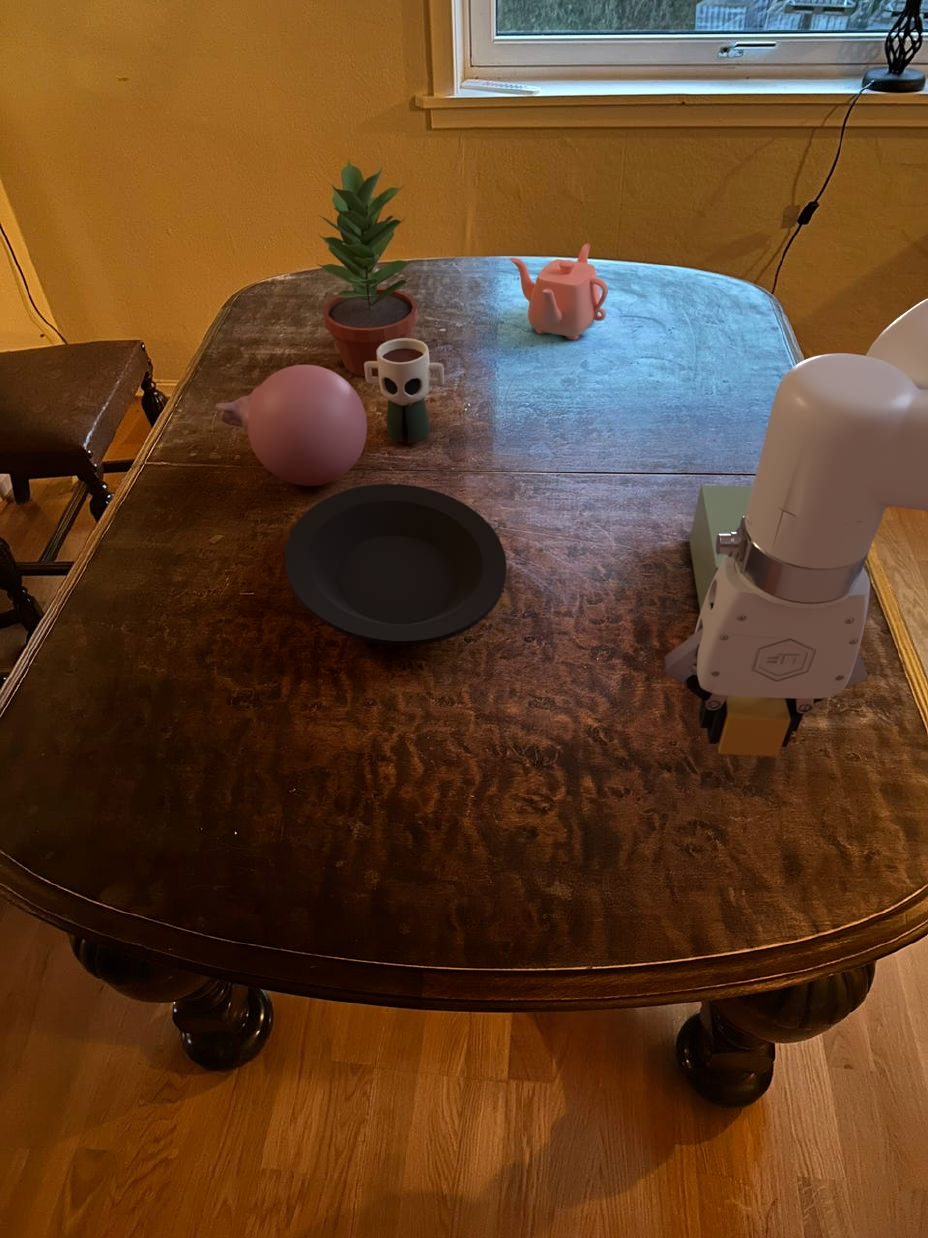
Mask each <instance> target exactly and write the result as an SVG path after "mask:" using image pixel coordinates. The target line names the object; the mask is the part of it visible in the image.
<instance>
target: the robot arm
mask: <svg viewBox="0 0 928 1238" xmlns="http://www.w3.org/2000/svg"><path fill="white" fill-rule="evenodd" d="M760 451H761V452H760V456H759V459H758V464H757V468H756V472H755V477H754V481H753V484H752V486H753V488H752V492H751V497H750V501H749V505H748V509H747V513H746V516H745V517H742V519H741V523H740V527H739V528H737V530H736V531H735V532H730V533H729V534H718V535H717V539H716V553H717V555H726V556H725V558H724V559H723V561H722V563H721V565H720V566H719V568H718V570H717V572H716V574H715V576H714V578H713V581H712V583H711V585H710V588H709V590H708V592H707V595H706V598H705V601H704V603H703V606H702V609H701V612H700V611H699V615H698V619H697V622H696V626H695V631H694V633H693V634H691V636H689V637H688V638H686V639H685V640H684V641H682V643H680V644H679V645H677V646H676V647H675V648H674V649H672V650H671V651H670V652H668V653H667V654H666V655H664V656H663V658H662V664H663V672H664V674H665V675H666V676H667V677H670V678H671V679H673V680H675V681H676V682H679V683H680V684H684V685H686V688H687V690H689V691H690V692H691V693H693V694H694V695H695V696H696V697H698V698H699V699H700V700H701V702H700V706H699V710H698V724H699V727H700V728H701V729H706V733H707V740H708V741H707V742H708V744H709V745H717V743H718V742H719V739H720V736H721V732H722V729H723V725H724V722H725V718H726V706H725V701H726V699H727V698H728V696H744V697H768V698H786V702H787V706H788V711H789V715H790V719H791V721H790V724H789V727H788V729H787V732H786V735H785V738H784V740H783V743H782V746H781V748H787V746H788V744H789V741H790V739H791V736H792V733H793V732H797V731H798V729H799V727H800V724H801V721H802V719H803V716H804V715H805V714H809V713H811V712H813V710H814V709H815V704H816V703H819V702H821V701H823V700H826V699H827V698H832V697H835V696H838V695H839V694H841V693H842V692H843V691H844V690H845V689H846V688H849V687H851V686H855V685H858V684H860V683H863V682H865V681H867V680H868V678H869V675H868V672H867V668H866V666H865V663H864V661H863V659H862V658H861V656H860V655H859V651H860V647H861V643H862V639H863V635H864V630H865V626H866V620H867V615H868V610H869V601H870V593H871V580H870V577H869V574H868V573H867V572H866V569H865V568H864V567H865V563H866V560H867V558H868V555H869V552H870V550H871V547H872V545H873V542H874V539H875V537H876V534H877V532H878V529H879V527H880V524H881V521H882V520H883V516H884V514H885V511H886V509H887V508H890V507H894V508H903V509H909V510H917V511H925V512H928V297H927V298H926V299H924V300H923V301H921V302H919V303H918V304H916V305H915V306H913V307H912V308H910V309H909V310H908V311H906V312H905V313H903V314H902V315H900V316H899V317H897V318H896V319H895V320H894V321H893V322H892V323H891V324H890V325H889V326H887V327H886V328H885V329H884V330H883V331H882V332H881V333H880V334H879V336H878V337H876V339H875V340H874V341H873V343H872V344H871V346H870V348H869V349H868V350H867V352H866V354H865V355H862V354H855V353H845V352H844V353H843V352H841V353H839V352H838V353H836V352H835V353H834V352H833V353H825V354H820V355H816V356H813V357H809V358H807V359H805V360H802V361H801V362H799V363H797V364H796V365H794V366H793V367H792V368H791V369H789V370H788V372H786V374H785V375H784V377H783V378H782V379H781V381H780V382H779V384H778V386H777V389H776V392H775V395H774V399H773V402H772V405H771V410H770V414H769V418H768V424H767V426H766V430H765V436H764V440H763V444H762V448H761V450H760Z"/></svg>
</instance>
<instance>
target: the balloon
mask: <svg viewBox="0 0 928 1238" xmlns="http://www.w3.org/2000/svg"><path fill="white" fill-rule="evenodd" d="M214 410H215V411H216V412H217V413H219V414H220V416H219V418H220V420H221V421H222V422H223V423H224V424H227V425H230V426H233V427H240V428H243V429H244V431H245V433H246V434H247V436H248V440H249V443H250V446H251V449H252V451H253V453H254V455H255V456H256V458H257V460H259V462H260V463H261V465H262V466H263V467H264V468H266V469H267V470H268V471H269V472H270V473H271V474H272V475H274V476H275V477H277V478H278V479H280V480H283V481H285V482H286V483H289V484H293V485H297V486H303V487H312V486H313V487H315V486H321V485H325V484H329V483H332V482H334V481H336V480H338V479H340V478H341V477H343V476H344V475H345V474H347V473H348V472H349V471H350V470H351V469H352V468H353V467H354V465H356V463H357V462H358V460H359V459H360V457H361V455H362V453H363V450H364V448H365V445H366V441H367V435H368V418H367V414H366V411H365V407H364V404H363V402H362V400H361V397H360V396H359V394H358V392H357V391H356V390H355V389H354V388H353V386H352V385H351V384H350V383H349V382H348V381H347V380H346V379H345V378H344V377H342V376H340V374H338V373H336V372H334V371H332V370H330V369H328V368H325V367H323V366H319V365H314V364H297V365H292V366H286V367H285V368H282V369H280V370H278V371H276V372H274V373H273V374H271V375H269V376H268V377H267V378H266V379H265V380H264V381H263V382H261V384H260V385H259V386H257V387H255V388H254V389H253V390H252V392H251V393H250V394H249V395H244V396H241V397H239V398H237V399H235V400H234V401H229V402H222V403H221V402H218V403H216V404H215V406H214Z"/></svg>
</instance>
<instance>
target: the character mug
mask: <svg viewBox="0 0 928 1238" xmlns="http://www.w3.org/2000/svg"><path fill="white" fill-rule="evenodd" d="M372 368H378V374H379V376H377V377H372V370H371V369H372ZM364 369H365V376H364V377H365V381H366V384H371V385H379V391H380V393H381V395H382V396H383V397H384V398H385V399H386V400H387V408H386V409H387V410H386V432H387V433H386V435H387V436H388V437H389V438H390V439H391V440H392V441H396V442H399V443H403V437H407V439H408V443H415V442H419V441H422V440H423V439H425V438H427V437H428V435H429V433H430V431H431V425H430V419H429V413H428V409H427V405H426V404H427V403H426V399H425V398H426V397H427V396H428V394H429V392H430V390H431V388H432V387H433V386H435V387H440V386H443V385H444V383H445V368H444V365H443V364H442V363H441V362H430V353H429V346H428V345H427V344H426V343H424V342H423V341H421V340H419V339H416V338H411V339H409V338H401V339H394V340H390V341H387V342H385V343H383V344H382V345H380V346H379V348H378V349H377V361H368V362H365V364H364ZM431 371H436V377H435V378H433V377H432V378H431Z"/></svg>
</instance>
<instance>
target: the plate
mask: <svg viewBox="0 0 928 1238" xmlns="http://www.w3.org/2000/svg"><path fill="white" fill-rule="evenodd" d="M284 567H285V572H286V575H287V579H288V583H289V585H290V587H291V590H292V592H293V593H294V595H295V597H296V598H297V600H298V601H299V602H300V604H302V606H303V607H304V608H305V609H306V610H307V611H308V612H309V613H310V614H311V615H312V616H313V617H315V619H317V620H318V621H320V622H321V623H323V624H324V625H325V626H327V627H329V628H331V629H333V630H334V631H336V632H339V633H341V634H343V635H345V636H347V637H351V638H353V639H357V640H358V641H359V640H360V641H364V642H368V643H370V644H371V643H372V644H378V645H385V646H386V645H387V646H398V647H399V646H401V647H408V646H421V645H428V644H433V643H438V642H441V641H445V640H448V639H451V638H453V637H456V636H458V635H461V634H463V633H464V632H466V631H468V630H470V629H472V628H473V627H475V626H476V625H478V624H479V623H480V622H481V621H482V620H484V619H485V618H486V617H487V616H488V615H489V614H490V613H491V612H492V611H493V610H494V608H495V607H496V605H497V604H498V602H499V601H500V599H501V597H502V596H503V595H502V594H503V592H504V590H505V586H506V582H507V568H508V567H507V558H506V553H505V549H504V546H503V544H502V542H501V539H500V537H499V536H498V534H497V533H496V531H495V530H494V528H493V527H492V526H491V524H490V523H489V522H487V520H486V519H485V518H484V517H483V516H481V514H479V512H477V511H476V510H475V509H473V508H471V507H470V506H468V505H467V504H465V503H464V502H462V501H460V500H458V499H456V498H454V497H452V496H450V495H448V494H445V493H443V492H440V491H437V490H433V489H430V488H428V487H427V488H426V487H421V486H417V485H410V484H403V483H401V484H400V483H379V484H367V485H362V486H357V487H352V488H349V489H345V490H343V491H339V492H337V493H335V494H332V495H330V496H328V497H326V498H324V499H322V500H321V501H319V502H318V503H316V504H315V505H313V506H311V508H309V509H308V510H307V511H306V512H305V513H304V514H303V515H301V517H300V518H299V519H298V520H297V522H296V523H295V525H294V526H293V527H292V529H291V531H290V534H289V536H288V538H287V540H286V543H285V548H284Z"/></svg>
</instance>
